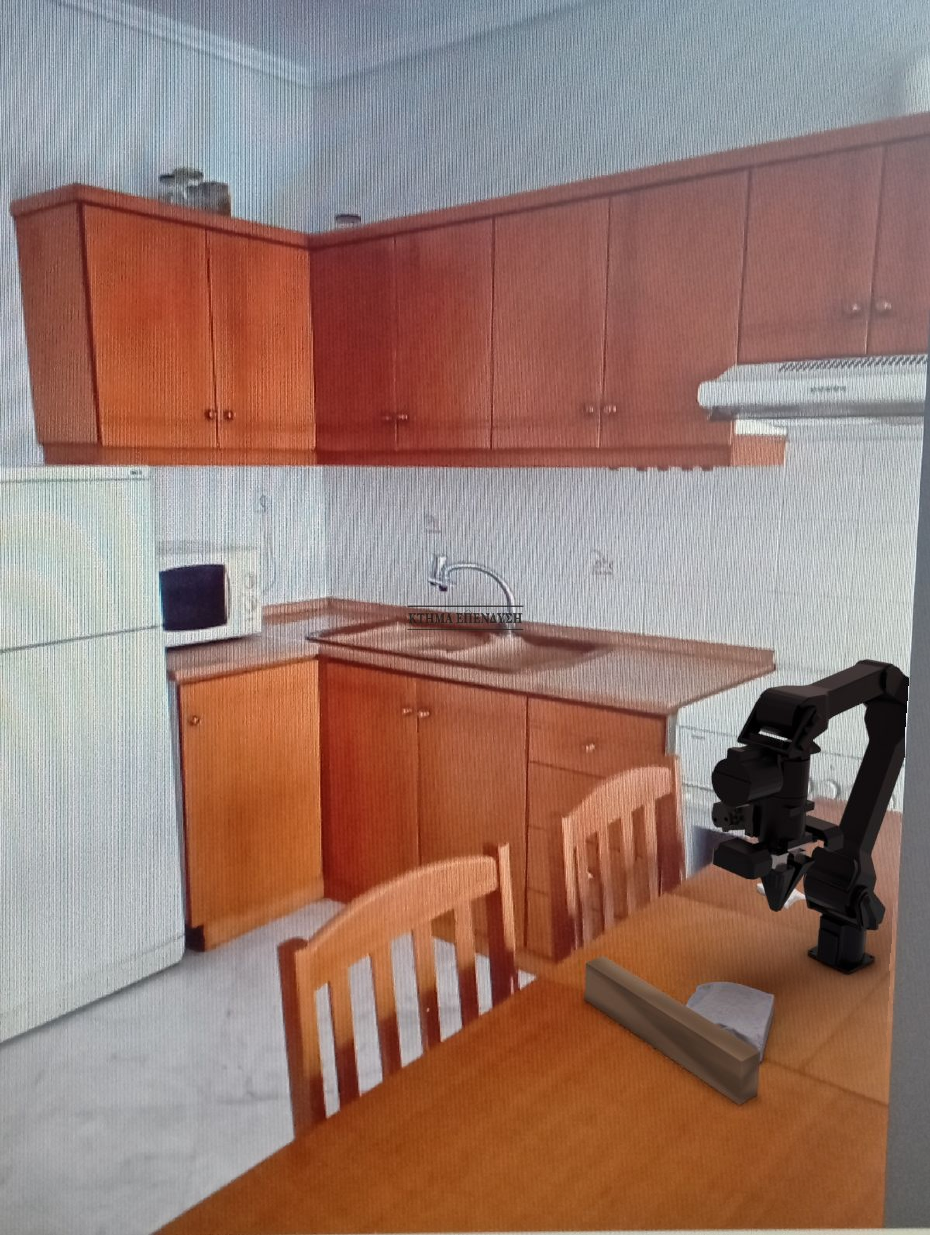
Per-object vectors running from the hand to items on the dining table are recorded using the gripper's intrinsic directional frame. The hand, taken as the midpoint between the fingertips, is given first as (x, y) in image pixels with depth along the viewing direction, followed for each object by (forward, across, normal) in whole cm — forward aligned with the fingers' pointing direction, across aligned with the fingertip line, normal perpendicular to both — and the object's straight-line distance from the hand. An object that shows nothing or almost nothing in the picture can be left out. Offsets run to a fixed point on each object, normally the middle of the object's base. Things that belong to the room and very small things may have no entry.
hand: (775, 910), depth 119 cm
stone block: (+12, +11, +2) cm, 16 cm away
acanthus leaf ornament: (+12, -26, -17) cm, 33 cm away
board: (+11, +19, 0) cm, 22 cm away
